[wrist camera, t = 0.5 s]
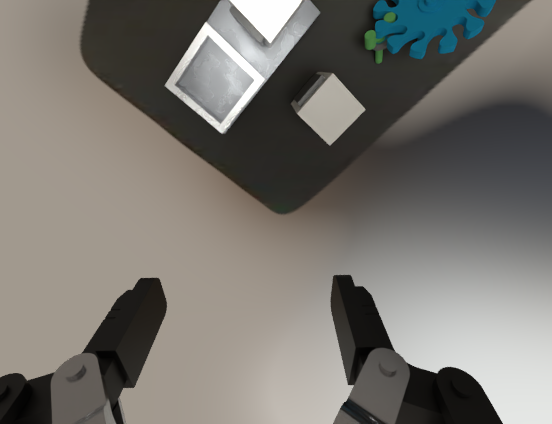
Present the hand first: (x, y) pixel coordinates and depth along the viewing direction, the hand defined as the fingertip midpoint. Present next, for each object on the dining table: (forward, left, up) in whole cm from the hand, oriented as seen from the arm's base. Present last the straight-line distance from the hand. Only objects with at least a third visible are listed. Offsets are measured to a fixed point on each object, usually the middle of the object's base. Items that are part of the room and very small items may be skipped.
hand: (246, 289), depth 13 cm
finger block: (-9, +1, -25) cm, 26 cm away
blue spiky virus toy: (-21, +3, -25) cm, 33 cm away
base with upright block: (-7, -9, -25) cm, 27 cm away
